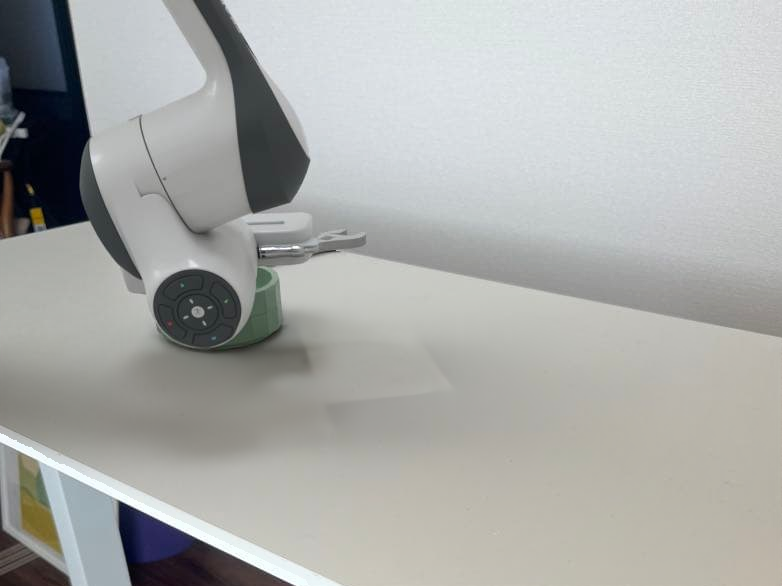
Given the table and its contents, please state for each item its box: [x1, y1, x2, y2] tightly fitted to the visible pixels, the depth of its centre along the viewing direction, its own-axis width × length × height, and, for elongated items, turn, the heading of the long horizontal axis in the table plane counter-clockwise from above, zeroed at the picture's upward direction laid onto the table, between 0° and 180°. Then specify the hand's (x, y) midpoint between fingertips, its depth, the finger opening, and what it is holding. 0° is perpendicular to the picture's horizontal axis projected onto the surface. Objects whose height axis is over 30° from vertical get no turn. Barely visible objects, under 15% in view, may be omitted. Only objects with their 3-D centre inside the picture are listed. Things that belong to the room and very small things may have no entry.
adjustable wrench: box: [312, 228, 367, 255], centre depth 122 cm, size 25×6×2 cm, turn 127°
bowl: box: [155, 266, 284, 351], centre depth 96 cm, size 15×15×6 cm
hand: (220, 221), depth 90 cm, fingers closed
